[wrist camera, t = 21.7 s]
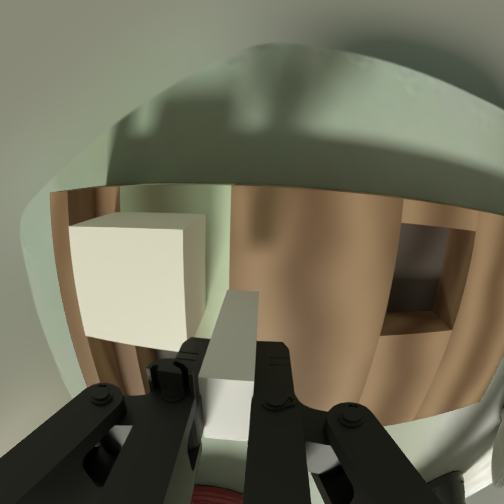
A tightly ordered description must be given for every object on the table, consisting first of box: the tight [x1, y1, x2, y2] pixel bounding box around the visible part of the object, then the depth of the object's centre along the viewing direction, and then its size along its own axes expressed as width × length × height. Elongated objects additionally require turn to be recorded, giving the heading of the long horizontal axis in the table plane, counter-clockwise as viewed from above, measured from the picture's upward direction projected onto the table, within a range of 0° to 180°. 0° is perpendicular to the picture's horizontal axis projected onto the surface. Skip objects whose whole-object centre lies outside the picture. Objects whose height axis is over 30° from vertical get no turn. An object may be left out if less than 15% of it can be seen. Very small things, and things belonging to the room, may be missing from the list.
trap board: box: [50, 183, 504, 426], centre depth 19 cm, size 38×20×7 cm, turn 88°
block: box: [69, 212, 206, 352], centre depth 15 cm, size 6×6×5 cm
